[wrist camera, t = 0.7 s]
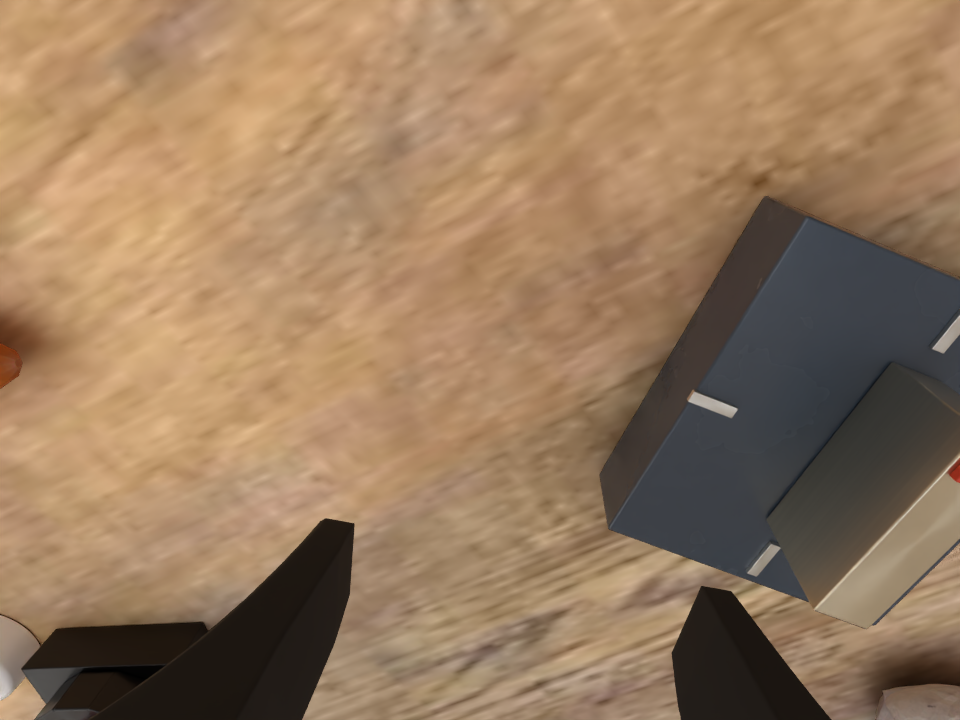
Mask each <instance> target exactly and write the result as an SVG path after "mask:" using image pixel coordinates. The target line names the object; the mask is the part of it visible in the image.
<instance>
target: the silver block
mask: <svg viewBox="0 0 960 720" xmlns="http://www.w3.org/2000/svg"><path fill="white" fill-rule="evenodd" d="M767 522H768V524H769V526H770V528H771V530H772V532H773V534H774V536H775V538H776V539H777V541H778V543H779V545H780V547H781V549H782V551H783V553H784V555H785V556H786V558H787V560H788V562H789V564H790V566H791V568H792V570H793V572H794V574H795V575H796V577H797V579H798V581H799V583H800V585H801V587H802V589H803V591H804V592H805V594H806V596H807V598H808V600H809V602H810V604H811V606H812V608H813V609H814V610H815V611H817V612H820V613H823V614H825V615H828V616H831V617H834V618H836V619H839V620H842V621H845V622H848V623H850V624H853V625H856V626H859V627H861V628H864V629H868V628H869V627H870V626H871V625H872V624H873V623H874V622H875V621H876V620H877V619H878V618H879V617H880V616H881V615H882V614H883V613H884V612H886V611H887V610H888V609H889V608H890V607H891V606H892V605H893V604H894V603H895V602H896V601H897V600H898V599H899V598H900V597H901V596H902V595H903V594H904V593H905V592H906V591H907V590H908V589H909V588H910V587H911V586H912V585H913V584H914V583H915V582H916V581H917V580H918V579H919V578H920V577H921V576H922V575H923V574H924V573H925V572H926V571H927V570H928V569H929V568H930V567H931V566H933V565H934V564H935V563H936V562H937V561H938V560H939V559H940V558H941V557H942V556H943V555H944V554H945V553H946V552H947V551H948V550H949V549H950V548H951V547H952V546H953V545H954V544H955V543H956V542H957V541H958V540H959V539H960V395H959V394H958V393H956V392H955V391H954V390H952V389H951V388H950V387H948V386H947V385H946V384H944V383H943V382H941V381H938V380H936V379H933V378H931V377H928V376H926V375H923V374H921V373H918V372H916V371H913V370H911V369H908V368H906V367H903V366H901V365H899V364H896V363H891V364H890V365H889V366H888V367H887V369H886V370H885V371H884V372H883V374H882V375H881V376H880V377H879V379H878V380H877V381H876V382H875V384H874V385H873V386H872V388H871V389H870V390H869V391H868V393H867V394H866V395H865V396H864V398H863V399H862V400H861V401H860V403H859V404H858V405H857V406H856V408H855V409H854V410H853V411H852V413H851V414H850V415H849V416H848V418H847V419H846V420H845V421H844V423H843V424H842V425H841V426H840V428H839V429H838V430H837V431H836V433H835V434H834V435H833V436H832V438H831V439H830V440H829V441H828V443H827V444H826V445H825V446H824V448H823V449H822V450H821V452H820V453H819V454H818V455H817V457H816V458H815V459H814V460H813V462H812V463H811V464H810V465H809V467H808V468H807V469H806V470H805V472H804V473H803V474H802V475H801V477H800V478H799V479H798V480H797V482H796V483H795V484H794V485H793V487H792V488H791V489H790V490H789V492H788V493H787V494H786V495H785V497H784V498H783V499H782V500H781V502H780V503H779V504H778V505H777V507H776V508H775V509H774V510H773V512H772V513H771V514H770V516H769V517H768V518H767Z"/></svg>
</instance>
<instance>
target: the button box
mask: <svg viewBox="0 0 960 720" xmlns="http://www.w3.org/2000/svg"><path fill="white" fill-rule="evenodd" d="M207 632H208V631H207V629H206V627H205V625H204V624H203V623H182V624H159V625H136V626H113V627H90V628H67V629H56V630H55V631H54V632H53V633H52V634H51V635H50V636H49V637H48V639H47V640H46V641H45V642H44V643H43V644H42V645H41V647H40V648H39V649H38V650H37V651H36V652H35V653H34V654H33V656H32V657H31V658H30V659H29V660H28V661H27V662H26V663H25V665H24V666H23V667H22V668H21V670H22V672H23V673H24V674H25V676H26V677H27V678H28V680H29V681H30V683H31V684H32V685H33V687H34V688H35V689H36V691H37V692H38V694H39V695H40V696H41V698H42V699H43V701H44V702H45V703H46V705H45V707H44V708H43V709H42V710H41V712H40V713H39V714H38V715H37V717H36V718H35V719H34V720H88V719H89V718H91V717H93V716H94V715H96V714H97V713H99V712H100V711H102V710H103V709H105V708H106V707H108V706H109V705H111V704H112V703H114V702H115V701H117V700H118V699H120V698H121V697H122V696H124V695H125V694H127V693H128V692H129V691H131V690H132V689H134V688H135V687H137V686H138V685H139V684H141V683H142V682H144V681H145V680H146V679H148V678H149V677H151V676H152V675H153V674H155V673H156V672H158V671H159V670H160V669H162V668H163V667H164V666H166V665H167V664H168V663H169V662H171V661H172V660H173V659H175V658H176V657H177V656H179V655H180V654H181V653H182V652H184V651H185V650H186V649H188V648H189V647H190V646H191V645H193V644H194V643H195V642H196V641H197V640H199V639H200V638H201V637H202V636H204V635H205V634H206V633H207Z"/></svg>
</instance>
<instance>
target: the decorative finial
mask: <svg viewBox="0 0 960 720" xmlns="http://www.w3.org/2000/svg"><path fill="white" fill-rule="evenodd" d="M39 648H40V645H39V643H38V641H37V640H36V638H35V637H34V636H33V635H32V634H31V633H30V632H29V631H28V630H27V629H26V628H24V627H23V626H22V625H20V624H19V623H17V622H15V621H13V620H11V619H9V618H7V617H4V616H2V615H0V700H3V699H5V698H6V697H8V696H9V695H10V694H11V693H12V692H13V691H14V690H15V689H16V687H17V686H18V685H19V684H20V683H21V682H22V681H23V679H24V678H25V677H26V676H25V674H24V673H23V672H22V670H21V668H22V667H23V666H24V665H25V663H26V662H27V661H28V660H29V659H30V658H31V657H32V656H33V654H34V653H35V652H36V651H37V650H38V649H39Z"/></svg>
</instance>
